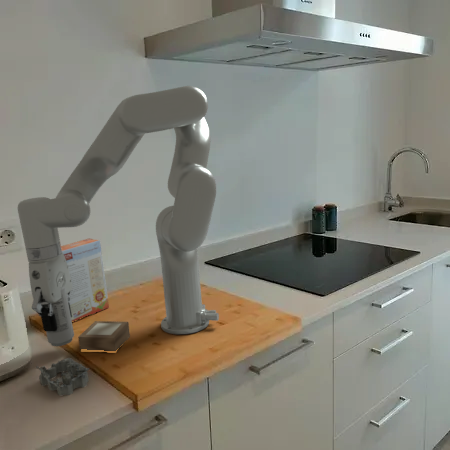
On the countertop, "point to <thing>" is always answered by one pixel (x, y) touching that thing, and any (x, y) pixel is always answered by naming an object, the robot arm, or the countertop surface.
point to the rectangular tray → (104, 335)
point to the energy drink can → (61, 322)
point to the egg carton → (64, 376)
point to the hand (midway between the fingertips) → (58, 323)
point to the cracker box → (86, 278)
